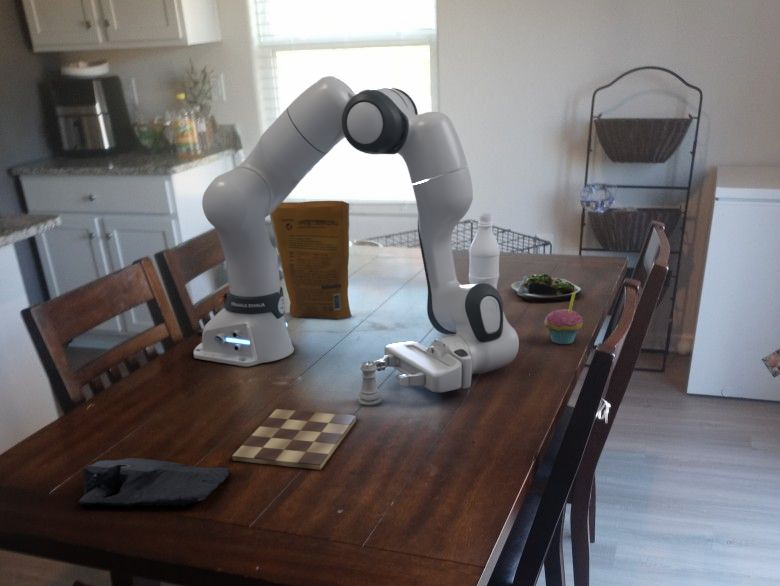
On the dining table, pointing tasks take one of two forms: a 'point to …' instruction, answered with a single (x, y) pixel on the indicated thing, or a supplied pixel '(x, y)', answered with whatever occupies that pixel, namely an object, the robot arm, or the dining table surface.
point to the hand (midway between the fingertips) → (387, 373)
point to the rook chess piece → (369, 385)
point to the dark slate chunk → (148, 482)
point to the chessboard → (295, 439)
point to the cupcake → (564, 324)
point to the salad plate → (545, 289)
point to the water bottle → (484, 254)
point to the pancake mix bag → (314, 256)
